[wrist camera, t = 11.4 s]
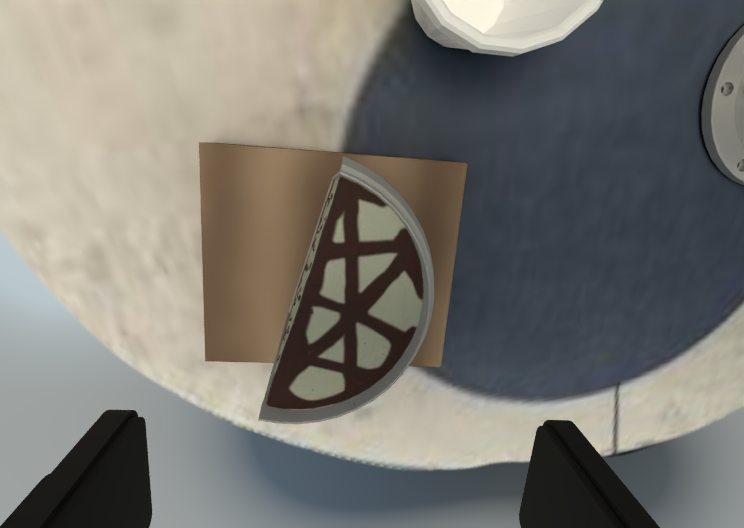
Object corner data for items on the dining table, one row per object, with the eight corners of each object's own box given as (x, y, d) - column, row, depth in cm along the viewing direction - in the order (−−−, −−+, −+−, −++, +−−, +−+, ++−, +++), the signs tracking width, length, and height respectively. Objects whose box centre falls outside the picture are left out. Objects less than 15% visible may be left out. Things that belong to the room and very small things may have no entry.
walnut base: (454, 161, 29) (467, 163, 26) (431, 347, 33) (440, 366, 30) (213, 142, 28) (199, 142, 25) (217, 341, 31) (205, 361, 28)
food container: (368, 358, 29) (385, 461, 20) (281, 333, 28) (254, 430, 19) (434, 186, 27) (491, 211, 17) (340, 152, 26) (344, 157, 16)
